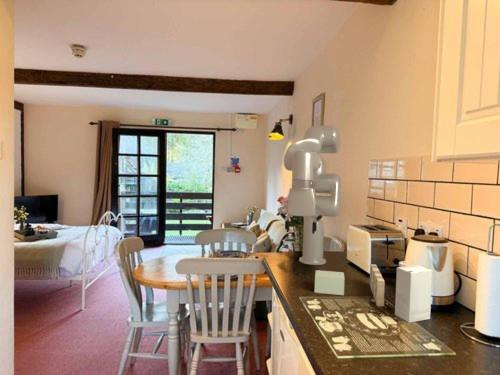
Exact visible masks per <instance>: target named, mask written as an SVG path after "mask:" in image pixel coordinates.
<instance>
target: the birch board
mask: <svg viewBox="0 0 500 375" xmlns="http://www.w3.org/2000/svg"><path fill="white" fill-rule="evenodd" d="M369 270H370V271H369V273H370V274H369V287H370V290H371V293H372V295H373V299H374V302H375V304H376V306H377V307H384V305H385V285H386V282H385V280H384V278H383V276H382V273H381V272H380V269H379V268H378V266H377V264H373V263H371V264H370V269H369Z"/></svg>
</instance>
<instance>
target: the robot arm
mask: <svg viewBox="0 0 500 375" xmlns="http://www.w3.org/2000/svg"><path fill="white" fill-rule="evenodd" d="M340 149H341V137H340V132H339V129H338V128H337V127H336V126H334V125H311V126H310V127H308V128H307V129H306V130H305V132H304V134H303V138H302V139H300V140H298V141H296V142H293V143H291V144H290V145H289V146H288V147H287V149H286V151H285V154H284V156H283V166H284V168H285V170H287V171H290V172H291V187H290V188H289V190H288V196H287V203H286V204H284V205H282V206H280V207H278V208H277V212H278V213H279V215H280V217H281V218H282V219H283V220H284V229H285V232H286V233H289V232H290V228H291V227H290V226H291V225H290V222H291V221H290V218H291V217H292V216H293V217H303V234H302V235H303V237H302V238H303V239H302V256H300V257H299V259H298V262H300V263H301V264H305V265H312V266H319V265H321V266H322V265H325V264H327V260H326V258H324V238H325V235H324V234H325V225H324V223H323V221H322V220H321V219H322V218H323V217H332V218H334V217H335V218H337V217H338V216H339V215H340V214H341V213H340V212H341V204H342V203H341V202H342V178H341V176H340V175H339V174H337V173H329V172H328V173H327V170H326V169H327V162H326V161H325V159H324V158H323V156H322V155H320V154H337V153H338V152H339V151H340ZM316 194H329V195H316ZM285 209H286V213H287V215H286V214H285V212H284V210H285Z"/></svg>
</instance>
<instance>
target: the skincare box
mask: <svg viewBox="0 0 500 375" xmlns="http://www.w3.org/2000/svg"><path fill="white" fill-rule="evenodd" d="M395 281H396V282H395V302H394V304H395V305H394V316H396V317H399V318H400V319H401V320H403V321H404V322H407V323H409V324H410V323H415V322H420V321H426V320H430V319H431V309H432V306H431V305H432V285H433V270H432V269H429V268H427V267H423V266H421V265H419V264H417V265H414V266H406V267H400V266H399V267H396V280H395Z"/></svg>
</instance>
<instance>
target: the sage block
mask: <svg viewBox="0 0 500 375" xmlns="http://www.w3.org/2000/svg"><path fill="white" fill-rule="evenodd" d="M314 277H315V278H314V293H318V294H328V295H339V296H344V295H345V279H346V278H345V272H341V271H333V270H331V271H330V270H320V269H319V270H317V269H316V270H315V275H314Z"/></svg>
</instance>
